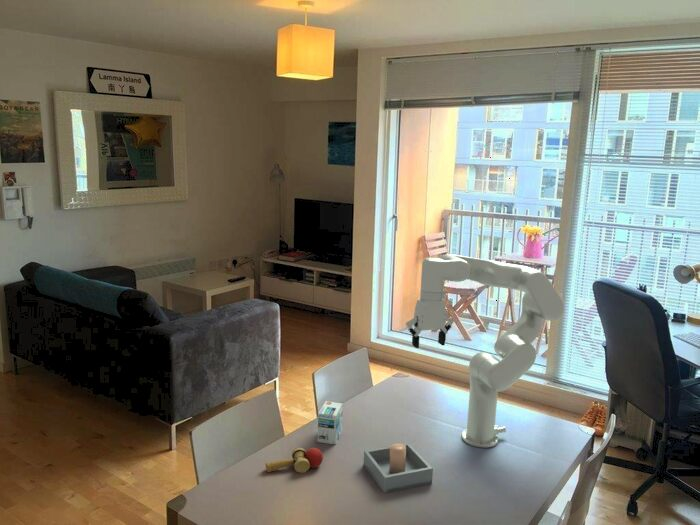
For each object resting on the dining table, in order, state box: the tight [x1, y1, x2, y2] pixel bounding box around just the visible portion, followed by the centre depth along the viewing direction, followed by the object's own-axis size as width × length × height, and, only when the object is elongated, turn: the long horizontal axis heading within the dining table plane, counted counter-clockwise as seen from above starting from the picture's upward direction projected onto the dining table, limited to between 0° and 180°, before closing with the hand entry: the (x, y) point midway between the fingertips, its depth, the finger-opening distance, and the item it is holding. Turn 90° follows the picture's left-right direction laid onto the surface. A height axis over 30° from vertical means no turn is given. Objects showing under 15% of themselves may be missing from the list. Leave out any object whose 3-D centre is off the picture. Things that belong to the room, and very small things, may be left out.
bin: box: [363, 443, 434, 494], centre depth 177 cm, size 16×16×5 cm
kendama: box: [265, 447, 324, 473], centre depth 179 cm, size 8×6×18 cm
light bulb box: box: [317, 400, 344, 445], centre depth 199 cm, size 11×7×11 cm, turn 168°
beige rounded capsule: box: [389, 442, 406, 474], centre depth 177 cm, size 5×5×8 cm
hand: (428, 345), depth 188 cm, fingers open, 9 cm apart
